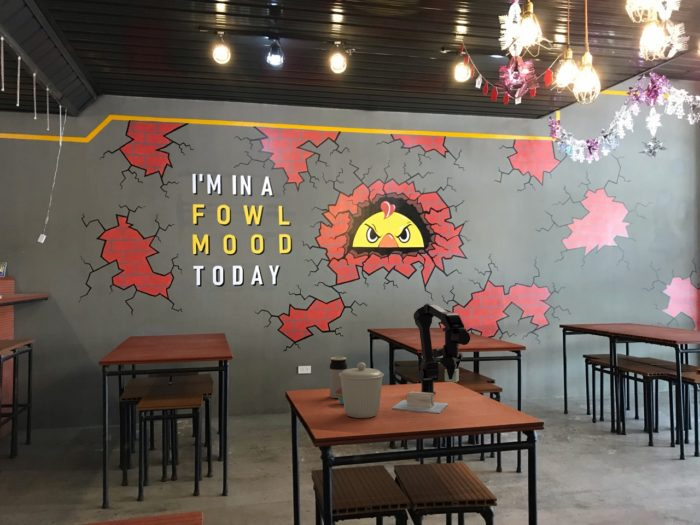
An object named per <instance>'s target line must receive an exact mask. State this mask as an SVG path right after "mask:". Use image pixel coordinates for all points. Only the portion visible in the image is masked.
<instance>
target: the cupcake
mask: <svg viewBox="0 0 700 525" xmlns="http://www.w3.org/2000/svg"><path fill="white" fill-rule="evenodd" d="M336 395H337V396H338V399H337V400H338V401H339V404H340V405H342V404H344V403H343V395H342V387H341V388H339V389H338V390H337V391H336Z"/></svg>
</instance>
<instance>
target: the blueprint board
mask: <svg viewBox="0 0 700 525" xmlns="http://www.w3.org/2000/svg"><path fill="white" fill-rule="evenodd" d="M447 405H448V406H449V403H444V402H434V405H433V406H432V407H431V408H422V407H410V406H407V399H403V400H401V401H400V402H398V403H397V404H395V405H393V406H392V407H391V409H392V410H399V411H407V412H408V411H409V412H416V413H417V412H419V413H426V412H427V414H429V413H430V414H437V413H439V414H440V413H441V412H443V411H444V408H445V407H446V406H447ZM448 406H447V407H448ZM447 407H446V408H447ZM446 408H445V409H446Z"/></svg>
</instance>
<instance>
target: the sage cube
mask: <svg viewBox="0 0 700 525" xmlns="http://www.w3.org/2000/svg"><path fill="white" fill-rule="evenodd" d="M459 372H460V369H459V368H458V369H455V372H454V375H453V377H452V379H451V380H450V379H449V377H448V373H447V369H446V368H445V369H444V382H448V383H457V382H458V381H459V380H460V377H459V376H460V373H459Z"/></svg>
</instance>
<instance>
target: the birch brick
mask: <svg viewBox="0 0 700 525" xmlns="http://www.w3.org/2000/svg"><path fill="white" fill-rule="evenodd" d="M434 399H435V398H434V395H433V393H424V392H421V391H409V392H408V393H407V394H406V400H407V406H410V407H422V408H431V407H432V406H433V405H434Z"/></svg>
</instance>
